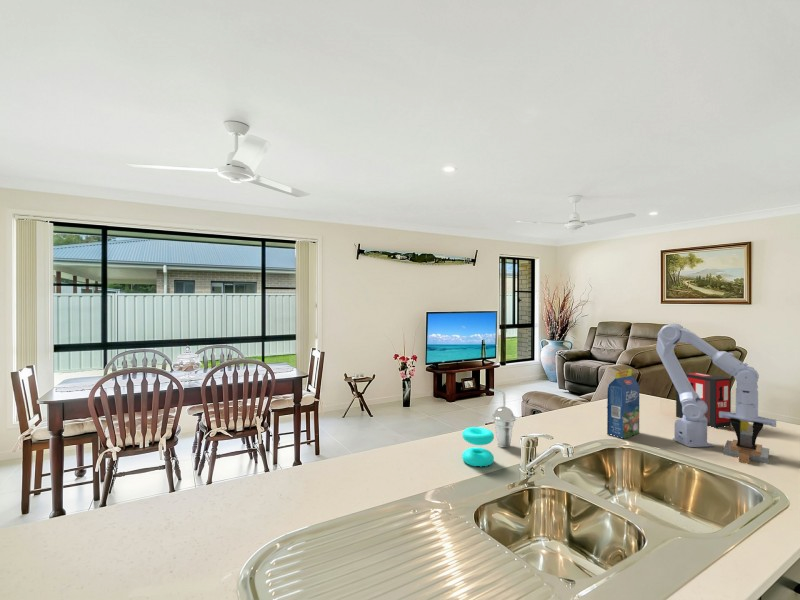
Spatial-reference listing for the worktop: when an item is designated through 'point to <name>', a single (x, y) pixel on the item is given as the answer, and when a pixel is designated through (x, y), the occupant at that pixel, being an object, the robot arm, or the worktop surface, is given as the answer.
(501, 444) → the cup with straw
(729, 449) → the grey and brown socket
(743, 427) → the lemon
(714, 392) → the cleaning product box
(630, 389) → the blue food package
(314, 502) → the worktop surface
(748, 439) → the dark grey rectangular block
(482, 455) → the donuts
